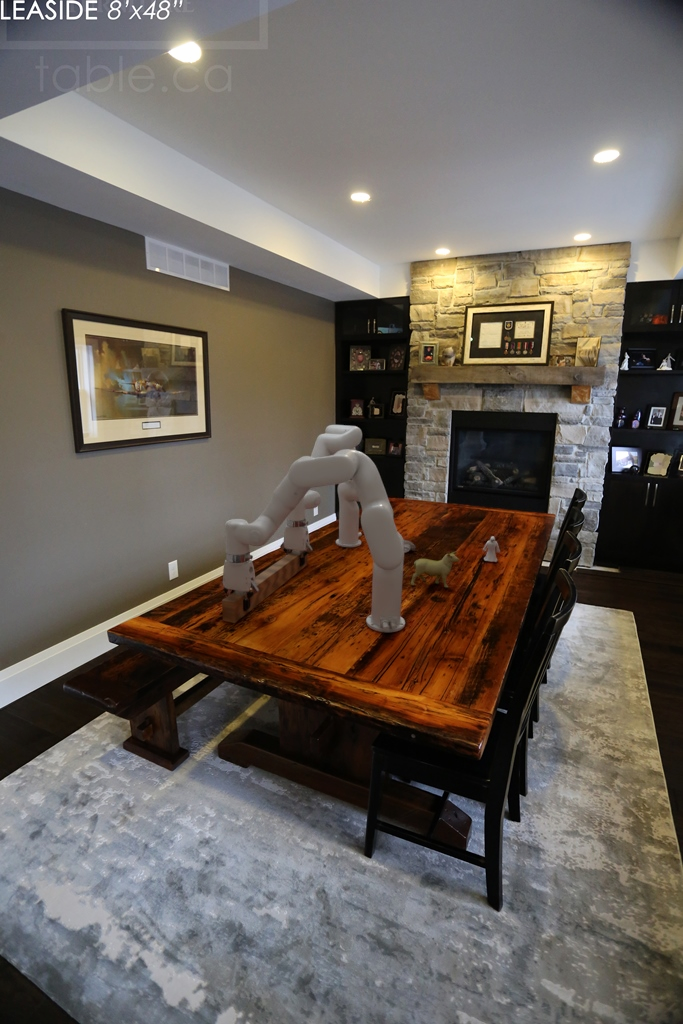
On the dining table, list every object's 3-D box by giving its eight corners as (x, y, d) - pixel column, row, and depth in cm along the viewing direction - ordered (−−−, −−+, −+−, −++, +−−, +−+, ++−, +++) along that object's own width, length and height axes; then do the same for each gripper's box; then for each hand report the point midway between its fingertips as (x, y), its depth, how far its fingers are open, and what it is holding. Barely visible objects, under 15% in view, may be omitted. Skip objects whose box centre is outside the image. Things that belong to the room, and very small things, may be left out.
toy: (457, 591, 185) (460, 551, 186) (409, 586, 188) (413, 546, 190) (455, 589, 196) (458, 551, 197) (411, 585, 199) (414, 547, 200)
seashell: (403, 559, 235) (392, 546, 235) (408, 552, 239) (398, 539, 238) (414, 554, 229) (403, 541, 228) (419, 547, 233) (409, 534, 232)
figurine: (481, 562, 222) (483, 536, 219) (482, 556, 230) (484, 531, 227) (499, 564, 220) (501, 538, 217) (499, 558, 228) (501, 533, 225)
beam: (234, 623, 161) (234, 602, 159) (222, 620, 163) (221, 600, 161) (307, 564, 215) (307, 548, 214) (298, 562, 217) (298, 547, 215)
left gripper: (318, 522, 206) (318, 564, 210) (281, 518, 211) (282, 559, 216) (311, 527, 199) (311, 570, 203) (273, 523, 204) (274, 565, 209)
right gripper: (266, 556, 164) (267, 607, 168) (221, 550, 169) (224, 600, 174) (255, 563, 157) (256, 617, 162) (209, 557, 163) (211, 608, 167)
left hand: (296, 564), depth 209 cm, fingers closed on beam, 4 cm apart
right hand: (239, 607), depth 168 cm, fingers closed on beam, 4 cm apart
